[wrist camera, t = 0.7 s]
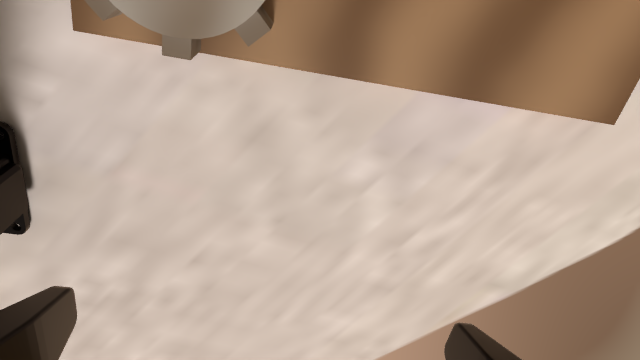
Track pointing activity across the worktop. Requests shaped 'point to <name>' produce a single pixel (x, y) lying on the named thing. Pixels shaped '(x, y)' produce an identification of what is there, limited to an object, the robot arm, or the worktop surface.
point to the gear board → (410, 44)
